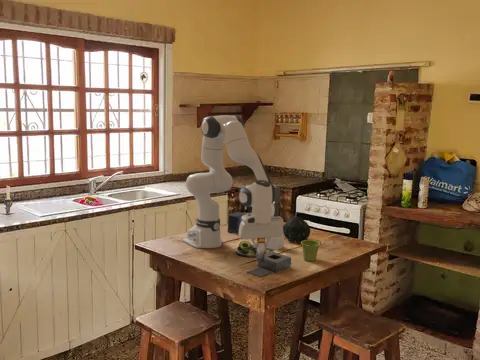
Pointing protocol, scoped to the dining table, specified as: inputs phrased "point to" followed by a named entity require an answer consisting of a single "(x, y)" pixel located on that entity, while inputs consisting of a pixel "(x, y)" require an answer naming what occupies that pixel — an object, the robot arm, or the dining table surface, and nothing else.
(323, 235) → the dining table surface
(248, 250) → the salad plate
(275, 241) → the medicine bottle
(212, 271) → the dining table surface
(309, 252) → the plant pot
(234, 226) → the small box
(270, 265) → the grey square block
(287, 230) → the squash
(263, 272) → the mat
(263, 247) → the cylindrical container
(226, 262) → the dining table surface
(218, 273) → the dining table surface
